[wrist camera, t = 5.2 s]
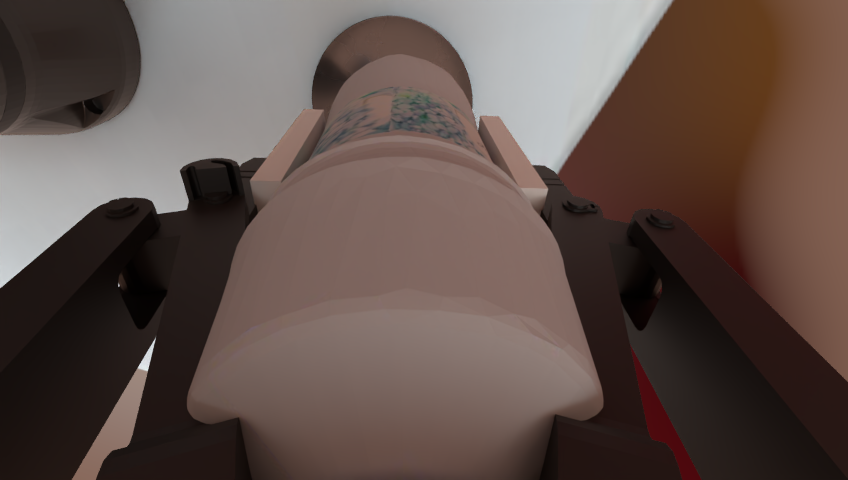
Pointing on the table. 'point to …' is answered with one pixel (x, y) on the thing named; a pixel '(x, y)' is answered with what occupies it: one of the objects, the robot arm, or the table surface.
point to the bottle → (397, 304)
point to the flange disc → (382, 54)
